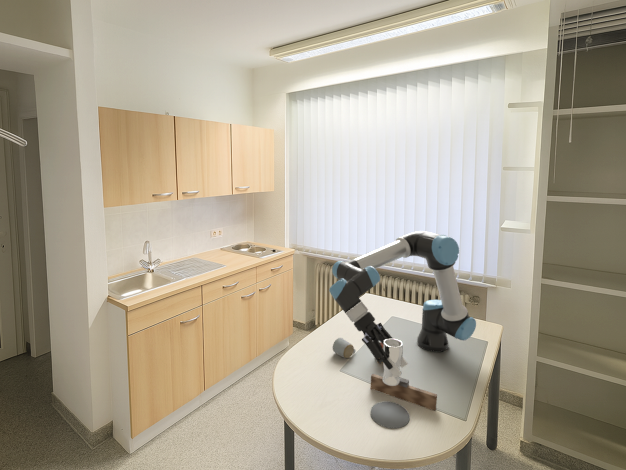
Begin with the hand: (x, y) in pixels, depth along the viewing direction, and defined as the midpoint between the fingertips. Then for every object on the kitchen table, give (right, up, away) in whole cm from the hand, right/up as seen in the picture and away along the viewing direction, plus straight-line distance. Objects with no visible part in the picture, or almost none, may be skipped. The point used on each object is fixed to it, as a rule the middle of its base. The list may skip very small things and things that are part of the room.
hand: (401, 370), depth 132 cm
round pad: (-3, -19, +6) cm, 20 cm away
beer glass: (-3, -5, +3) cm, 7 cm away
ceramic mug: (-16, -10, +49) cm, 52 cm away
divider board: (+4, -17, +15) cm, 23 cm away
